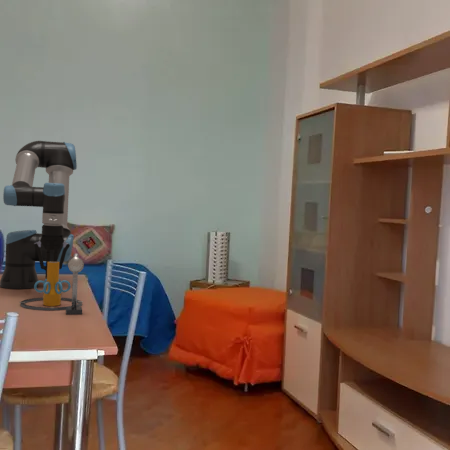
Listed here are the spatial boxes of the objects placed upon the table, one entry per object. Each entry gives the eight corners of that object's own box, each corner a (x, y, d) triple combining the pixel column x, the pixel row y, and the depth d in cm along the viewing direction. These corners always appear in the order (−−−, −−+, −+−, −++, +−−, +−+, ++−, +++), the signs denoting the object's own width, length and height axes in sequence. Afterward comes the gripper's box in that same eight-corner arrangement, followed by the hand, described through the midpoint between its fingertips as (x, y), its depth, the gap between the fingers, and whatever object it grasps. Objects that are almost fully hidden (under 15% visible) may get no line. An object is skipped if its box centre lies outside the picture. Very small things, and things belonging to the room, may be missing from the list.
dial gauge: (65, 309, 191) (67, 251, 191) (80, 309, 193) (82, 252, 192) (66, 314, 183) (68, 254, 182) (82, 314, 185) (84, 254, 184)
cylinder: (57, 309, 191) (59, 264, 191) (29, 306, 193) (30, 262, 193) (73, 303, 203) (75, 261, 203) (46, 301, 205) (48, 259, 205)
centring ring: (20, 299, 205) (20, 296, 205) (81, 299, 212) (81, 296, 212) (17, 311, 185) (17, 307, 185) (85, 310, 192) (85, 307, 192)
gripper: (34, 224, 204) (31, 289, 205) (71, 226, 208) (69, 289, 209) (34, 223, 211) (32, 286, 212) (70, 224, 215) (68, 286, 216)
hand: (50, 287), depth 211 cm, fingers closed
